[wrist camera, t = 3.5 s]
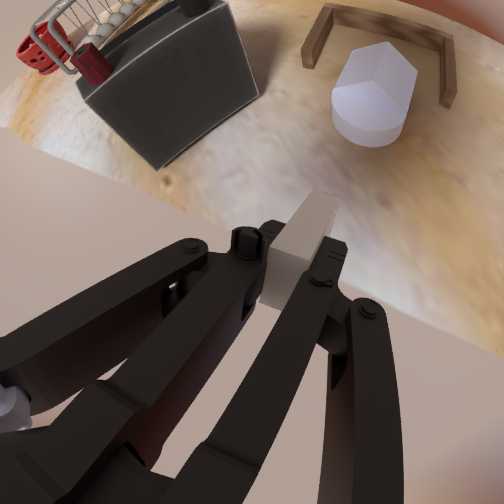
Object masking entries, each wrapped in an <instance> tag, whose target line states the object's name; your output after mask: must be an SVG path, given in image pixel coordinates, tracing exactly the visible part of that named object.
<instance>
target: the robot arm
mask: <svg viewBox="0 0 504 504" xmlns="http://www.w3.org/2000/svg"><path fill="white" fill-rule="evenodd" d="M339 200H340V197H339V196H336V195H333V194H329V193H326V192H323V191H320V190H316V189H313V190H312V191H311V193H310V194H309V195H308V197H307V198H306V199H305V201H304V202H303V203H302V204H301V206H300V207H299V208H298V210H297V211H296V212H295V214H294V215H293V216H292V218H291V219H290V220H289V221H288V223H287V224H285V223H282V222H279V221H276V220H270V221H267V222H265V223H264V224H263V225H262V226H261V227H260V228H259V229H257V228H254V227H246V226H242V227H238V228H235V229H233V230H232V237H231V248H230V250H229V251H228V252H227V253H216V252H208V246H207V244H206V243H205V242H204V241H202V240H200V239H196V238H185V239H182V240H179V241H177V242H175V243H174V244H171V245H169V246H167V247H165V248H163V249H161V250H159V251H157V252H155V253H154V254H152V255H150V256H148V257H146V258H144V259H142V260H140V261H138V262H136V263H134V264H132V265H130V266H129V267H127V268H125V269H123V270H121V271H119V272H117V273H115V274H114V275H112V276H110V277H108V278H106V279H104V280H102V281H100V282H99V283H97V284H95V285H93V286H91V287H89V288H88V289H86V290H84V291H82V292H80V293H79V294H77V295H75V296H73V297H71V298H70V299H68V300H66V301H64V302H63V303H61V304H59V305H57V306H55V307H54V308H52V309H50V310H48V311H47V312H45V313H43V314H42V315H40V316H38V317H36V318H34V319H33V320H31V321H29V322H28V323H26V324H24V325H22V326H21V327H19V328H17V329H16V330H14V331H12V332H11V333H9V334H8V335H6V336H4V337H0V504H242V503H243V501H244V499H245V498H246V496H247V494H248V492H249V490H250V488H251V487H252V485H253V483H254V481H255V479H256V477H257V475H258V472H259V471H260V469H261V466H262V464H263V462H264V460H265V458H266V456H267V454H268V452H269V450H270V448H271V446H272V444H273V442H274V440H275V438H276V436H277V434H278V431H279V429H280V427H281V425H282V423H283V421H284V419H285V416H286V414H287V412H288V410H289V407H290V405H291V403H292V400H293V398H294V396H295V394H296V391H297V389H298V387H299V384H300V382H301V379H302V377H303V375H304V372H305V370H306V367H307V365H308V363H309V360H310V357H311V355H312V352H313V350H314V347H315V345H316V343H317V344H319V345H320V346H321V347H323V348H324V349H326V350H327V351H328V352H329V353H328V371H327V373H328V374H327V396H326V415H325V430H324V444H323V454H322V465H321V475H320V484H319V492H318V501H317V504H404V472H403V470H404V469H403V445H402V431H401V417H400V406H399V397H398V388H397V381H396V372H395V365H394V358H393V352H392V346H391V339H390V334H389V328H388V323H387V317H386V313H385V311H384V309H383V307H382V306H381V305H380V304H379V303H377V302H375V301H374V300H372V299H369V298H357V299H355V300H353V301H351V300H350V299H348V298H347V297H346V296H344V295H343V294H342V293H341V291H340V289H339V288H338V279H339V276H340V273H341V270H342V267H343V264H344V261H345V258H346V254H347V251H348V248H347V246H346V243H345V242H342V241H339V240H336V239H333V238H330V233H331V230H332V226H333V222H334V219H335V215H336V212H337V208H338V204H339ZM173 283H175V286H174V287H172V288H169V286H170V285H171V284H173ZM260 294H261V295H260ZM259 295H260V301H259V303H262V304H265V305H267V306H270V307H272V308H275V309H278V310H280V311H282V312H281V314H280V316H279V318H278V320H277V321H276V323H275V325H274V327H273V329H272V330H271V332H270V334H269V336H268V338H267V339H266V341H265V343H264V345H263V347H262V348H261V350H260V352H259V354H258V355H257V357H256V359H255V361H254V362H253V364H252V366H251V367H250V369H249V371H248V373H247V374H246V376H245V378H244V380H243V381H242V383H241V385H240V386H239V388H238V389H237V391H236V393H235V394H234V396H233V398H232V399H231V401H230V403H229V404H228V406H227V408H226V410H225V411H224V412H223V414H222V416H221V417H220V419H219V421H218V422H217V424H216V425H215V427H214V429H213V430H212V432H211V433H210V435H209V436H208V438H207V439H206V440H205V441H203V442H201V443H200V444H199V445H198V446H197V447H196V448H195V450H194V451H193V453H192V454H191V455H190V457H189V458H188V460H187V461H186V463H185V465H184V466H183V467H182V469H181V470H180V472H179V473H178V475H177V476H176V478H175V479H173V478H170V477H167V476H164V475H160V474H157V473H154V472H151V471H150V470H151V469H152V467H153V466H154V465H155V463H156V461H157V460H158V458H159V456H160V454H161V451H162V447H163V445H164V443H165V441H166V439H167V438H168V437H169V435H170V434H171V432H172V431H173V429H174V428H175V427H176V425H177V424H178V422H179V421H180V420H181V418H182V417H183V415H184V414H185V412H186V411H187V410H188V408H189V407H190V405H191V404H192V402H193V401H194V400H195V398H196V397H197V395H198V394H199V392H200V391H201V389H202V388H203V386H204V385H205V383H206V382H207V381H208V379H209V378H210V376H211V375H212V373H213V372H214V370H215V369H216V367H217V366H218V364H219V363H220V361H221V360H222V358H223V357H224V355H225V354H226V352H227V351H228V349H229V348H230V346H231V345H232V343H233V342H234V340H235V338H236V337H237V336H238V334H239V333H240V331H241V330H242V328H243V327H244V325H245V323H246V322H247V320H248V319H249V317H250V316H251V314H252V313H253V311H254V308H255V304H256V300H257V298H258V297H259ZM128 357H129V358H128ZM127 358H128V359H127ZM125 359H127V360H126V361H125V362H124V363H123V364H122V365H121V366H120V368H119V369H118V370H117V371H116V372H115V373H114V374H113V375H112V376H111V377H110V378H109V379H107V380H96V379H98V378H99V377H100V376H102V375H103V374H104V373H106V372H108V371H109V370H111V369H112V368H114V367H115V366H117V365H118V364H120V363H121V362H122V361H124V360H125ZM81 389H83V390H82V391H81V392H80V393H79V394H78V395H77V396H76V397H75V398H74V399H73V400H72V402H71V403H70V404H69V405H68V406H67V407H66V408H65V409H64V410H63V411H62V413H61V414H60V415H59V416H58V417H57V418H56V419H55V420H54V421H53V422H52V423H51V425H48V426H43V427H38V428H31V426H32V419H31V417H30V416H33V415H36V414H40V413H42V412H44V411H47V410H49V409H51V408H53V407H55V406H57V405H58V404H60V403H62V402H63V401H65V400H66V399H68V398H69V397H71V396H72V395H74V394H75V393H77V392H78V391H80V390H81ZM30 428H31V429H30ZM19 429H21V430H19ZM17 430H18V431H17Z"/></svg>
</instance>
